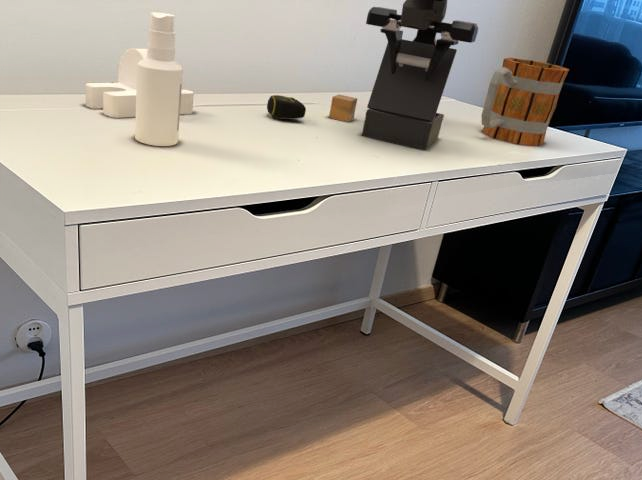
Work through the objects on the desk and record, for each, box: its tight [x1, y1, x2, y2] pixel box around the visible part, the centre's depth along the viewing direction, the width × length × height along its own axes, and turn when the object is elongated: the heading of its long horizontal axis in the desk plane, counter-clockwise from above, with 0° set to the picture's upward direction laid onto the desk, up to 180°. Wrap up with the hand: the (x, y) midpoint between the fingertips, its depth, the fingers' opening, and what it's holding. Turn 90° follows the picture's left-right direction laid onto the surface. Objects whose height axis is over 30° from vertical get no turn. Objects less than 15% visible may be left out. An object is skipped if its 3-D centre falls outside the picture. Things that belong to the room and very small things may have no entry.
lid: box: [366, 38, 458, 122], centre depth 120 cm, size 13×13×4 cm
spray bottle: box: [134, 11, 184, 147], centre depth 100 cm, size 7×7×18 cm
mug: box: [481, 57, 570, 147], centre depth 140 cm, size 20×14×15 cm
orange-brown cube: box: [328, 94, 358, 123], centre depth 137 cm, size 4×4×4 cm
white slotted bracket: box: [85, 47, 195, 119], centre depth 119 cm, size 10×18×10 cm, turn 133°
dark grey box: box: [361, 108, 445, 151], centre depth 129 cm, size 13×13×5 cm
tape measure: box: [266, 94, 307, 120], centre depth 130 cm, size 7×7×4 cm
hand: (409, 77), depth 120 cm, fingers closed on lid, 6 cm apart
